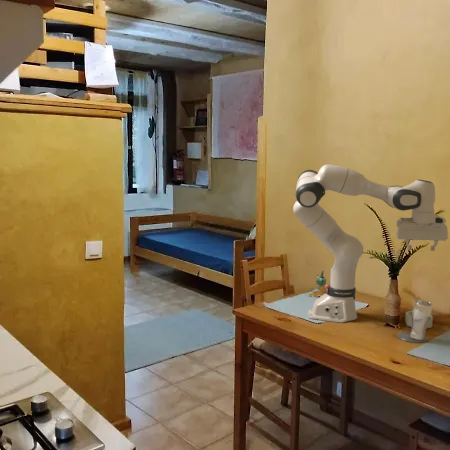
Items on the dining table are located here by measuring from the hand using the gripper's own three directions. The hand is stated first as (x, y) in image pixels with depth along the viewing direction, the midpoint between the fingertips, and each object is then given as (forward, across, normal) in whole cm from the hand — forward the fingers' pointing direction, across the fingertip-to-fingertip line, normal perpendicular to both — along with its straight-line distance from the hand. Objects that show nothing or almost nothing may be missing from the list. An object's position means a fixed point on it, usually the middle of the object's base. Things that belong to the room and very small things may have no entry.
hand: (420, 250), depth 214 cm
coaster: (+34, -4, -14) cm, 37 cm away
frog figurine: (+35, -41, +42) cm, 68 cm away
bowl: (+34, +1, +2) cm, 34 cm away
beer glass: (+34, -2, -16) cm, 37 cm away
